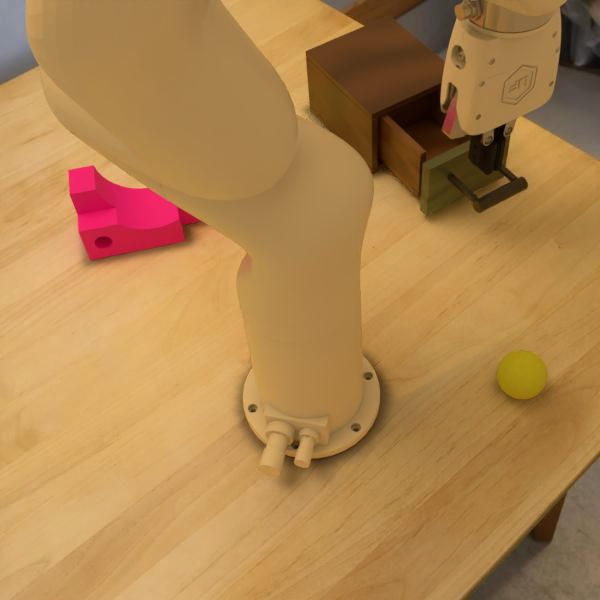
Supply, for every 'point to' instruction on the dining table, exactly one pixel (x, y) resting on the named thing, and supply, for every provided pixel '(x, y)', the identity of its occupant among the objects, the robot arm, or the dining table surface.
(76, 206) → the toy block
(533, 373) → the yellow ball
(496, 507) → the dining table surface
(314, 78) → the cabinet
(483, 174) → the drawer
